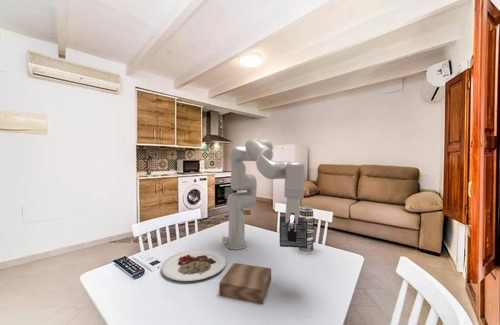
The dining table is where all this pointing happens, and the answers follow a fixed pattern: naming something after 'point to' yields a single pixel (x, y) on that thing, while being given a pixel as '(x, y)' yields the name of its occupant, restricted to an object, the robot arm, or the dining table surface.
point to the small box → (301, 233)
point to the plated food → (193, 265)
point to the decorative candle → (308, 228)
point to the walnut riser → (246, 282)
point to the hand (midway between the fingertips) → (292, 237)
